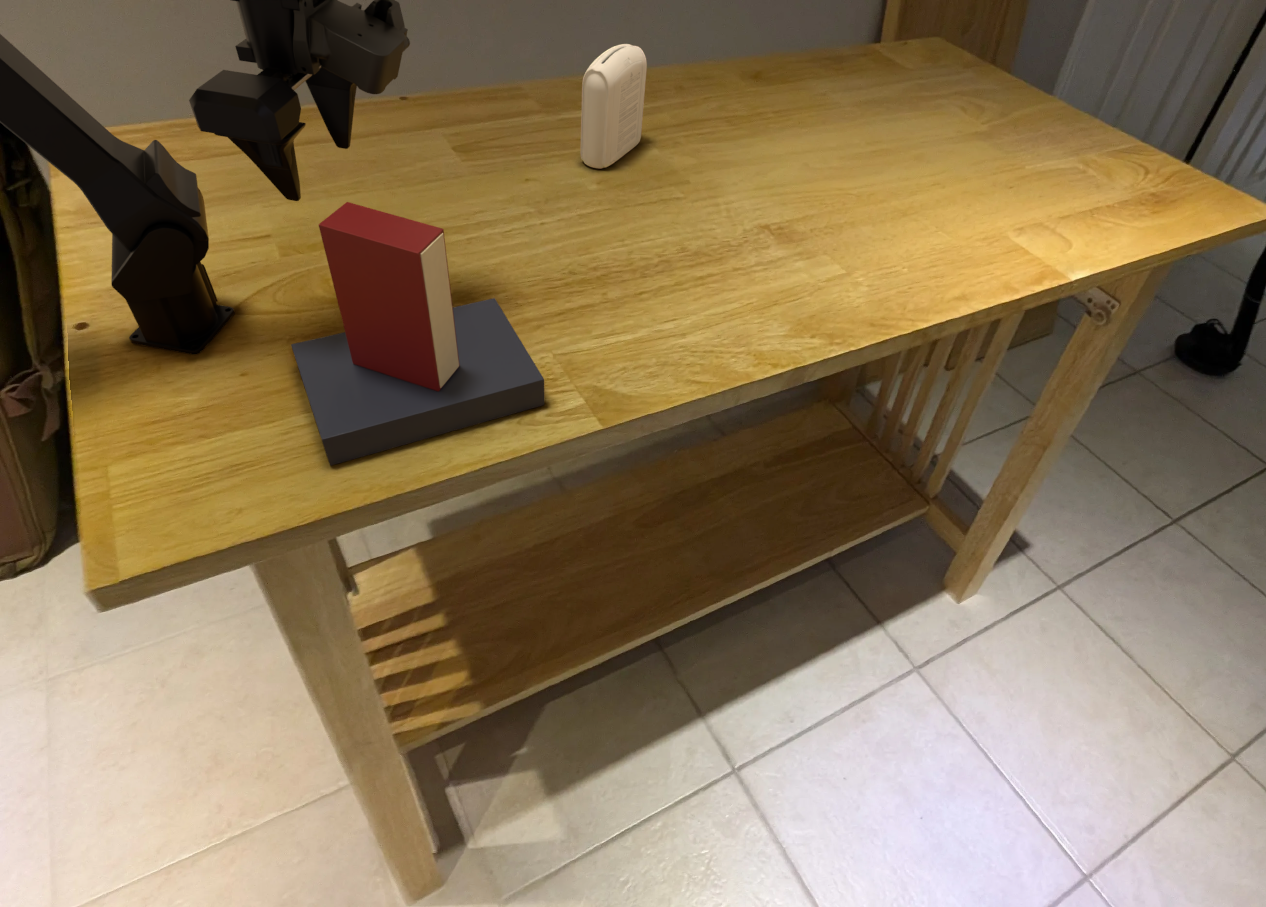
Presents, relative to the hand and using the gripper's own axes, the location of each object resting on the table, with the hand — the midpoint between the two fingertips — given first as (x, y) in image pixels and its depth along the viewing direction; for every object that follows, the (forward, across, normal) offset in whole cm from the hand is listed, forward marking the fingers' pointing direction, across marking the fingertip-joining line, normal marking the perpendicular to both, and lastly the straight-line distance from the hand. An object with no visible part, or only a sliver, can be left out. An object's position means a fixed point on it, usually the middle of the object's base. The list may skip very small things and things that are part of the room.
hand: (319, 172), depth 66 cm
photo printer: (+13, +37, -18) cm, 43 cm away
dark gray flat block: (+13, -10, -11) cm, 20 cm away
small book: (+10, -11, -10) cm, 18 cm away
